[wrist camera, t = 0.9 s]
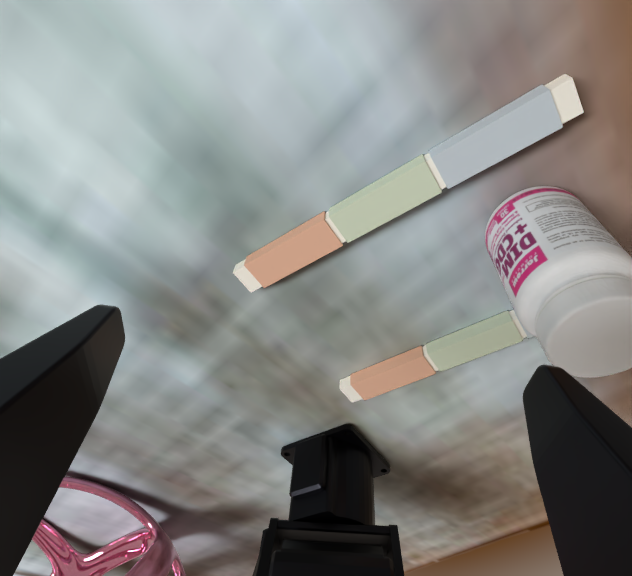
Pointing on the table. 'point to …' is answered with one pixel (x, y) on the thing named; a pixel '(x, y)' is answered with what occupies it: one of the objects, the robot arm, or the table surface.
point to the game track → (404, 194)
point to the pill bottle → (565, 280)
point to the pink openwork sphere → (88, 569)
